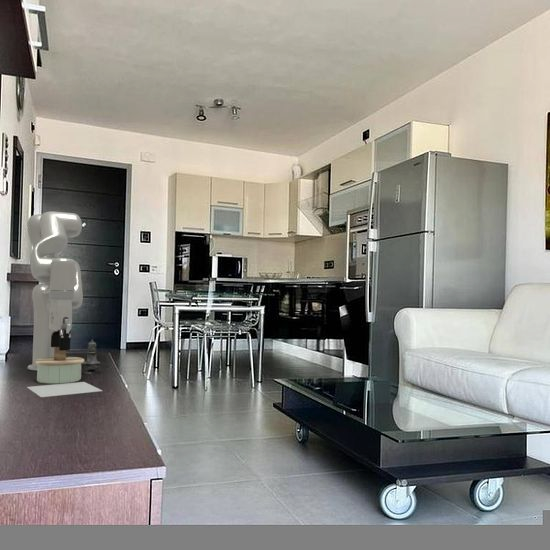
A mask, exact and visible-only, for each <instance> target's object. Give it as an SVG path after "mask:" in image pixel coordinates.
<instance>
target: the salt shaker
mask: <svg viewBox="0 0 550 550" xmlns="http://www.w3.org/2000/svg"><path fill="white" fill-rule="evenodd" d="M86 353H87V355H86V356H87V358H86V360H85V361H84V362H83V363H82V365H83V367H84V369H85V371H83V374H86V375H93V374H94V375H95V374H99V373H100V371H98V370H97V369H99V367H100V364H101V362H100V361H98V359H97V354H98V351H97V343H96V342H95V341H94V340H93V339H91V341H89V342H88V343H87V351H86Z"/></svg>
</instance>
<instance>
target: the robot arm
mask: <svg viewBox="0 0 550 550" xmlns="http://www.w3.org/2000/svg"><path fill="white" fill-rule="evenodd" d="M26 226H27V234H28V238H29V241H30V244H31V246H32V249H31V251H30V256H29V257H30V259H29V261H30V272H31V276H32V277H33V279H35V280H37V281H38V282H40V283H39V284H37V285H35V286H34V287H33V289H32V293H31V296H32V298H31V299H32V305H33V334H32V335H33V339H32V340H33V341H32V363H31V364H29V365H27V370H30V371H36V372H37V364H35V363H34V362H35V360H36V359H40V358H48V357H54V348H55V347H59V350H60V351H64V350H66V351H70V350H71V337H72V336H71V333H72V328H73V327H72V324H73V309H74V310H75V309H78V308H80V307H82V304H83V300H84V297H83V296H84V295H83V293H84V292H83V284H82V283H83V282H82V272H81V267H80V264H79V263H78V262H77V261H76V260H74V259H72V258H66V257H65V258H64V257H62V258H61V257H59V252H62V251H64V250H65V249H66V248H67V246H68V243H69V241H68V239H71V238H76V237H79V235H80V234H81V232H82V229H83V222H82V219H81V217H80V216H79V215H78V213H74V212H73V213H72V212H64V211H46V212H44V213H41V214H34V215H33V214H32V215H31V216H30V217H29V218H28V221H27V225H26Z"/></svg>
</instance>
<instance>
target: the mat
mask: <svg viewBox="0 0 550 550" xmlns="http://www.w3.org/2000/svg"><path fill="white" fill-rule="evenodd" d="M26 388H27V389H29V390H30V391H31V392H33V393H34V394H35V395H37V396H38V397H40V398H48V397H57V396H59V397H60V396H68V395H77V394H79V395H80V394H88V393H89V394H90V393H97V392H103V390H102V389H100V388H98V387H96V386H94V385H92V384H90V383H87V382H85V381H76V382H70V383H54V384H45V385H35V386H34V385H33V386H26Z"/></svg>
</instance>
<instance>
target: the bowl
mask: <svg viewBox="0 0 550 550" xmlns="http://www.w3.org/2000/svg"><path fill="white" fill-rule="evenodd" d="M36 372H37V373H36V381H37V382H38V383H41V384H66V383H76V382H80V380H81V379H82V363H80V364H74V365H62V366H46V365H37V371H36Z"/></svg>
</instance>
